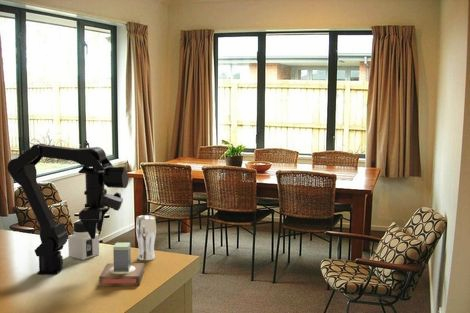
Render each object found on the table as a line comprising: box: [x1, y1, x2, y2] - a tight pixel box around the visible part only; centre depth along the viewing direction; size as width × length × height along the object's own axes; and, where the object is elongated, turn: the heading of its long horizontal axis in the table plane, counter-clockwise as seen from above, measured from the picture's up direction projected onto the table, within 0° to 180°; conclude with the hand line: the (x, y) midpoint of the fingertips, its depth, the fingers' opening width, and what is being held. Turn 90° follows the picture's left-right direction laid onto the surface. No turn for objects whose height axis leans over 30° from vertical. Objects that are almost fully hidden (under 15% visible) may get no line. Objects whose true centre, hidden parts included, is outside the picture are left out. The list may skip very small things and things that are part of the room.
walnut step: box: [98, 262, 145, 287], centre depth 156 cm, size 12×12×3 cm
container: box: [67, 219, 100, 261], centre depth 179 cm, size 8×8×13 cm
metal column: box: [112, 242, 132, 272], centre depth 156 cm, size 4×4×8 cm
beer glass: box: [135, 214, 157, 262], centre depth 176 cm, size 7×7×15 cm
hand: (96, 234), depth 160 cm, fingers open, 9 cm apart
